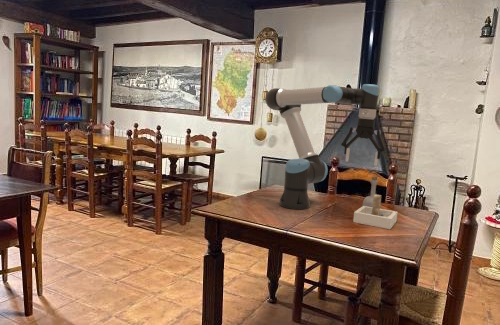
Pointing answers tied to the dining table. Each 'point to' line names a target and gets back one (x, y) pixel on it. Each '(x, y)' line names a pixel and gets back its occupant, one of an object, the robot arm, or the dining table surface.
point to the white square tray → (375, 217)
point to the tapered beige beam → (376, 205)
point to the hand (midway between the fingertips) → (360, 163)
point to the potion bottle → (369, 200)
